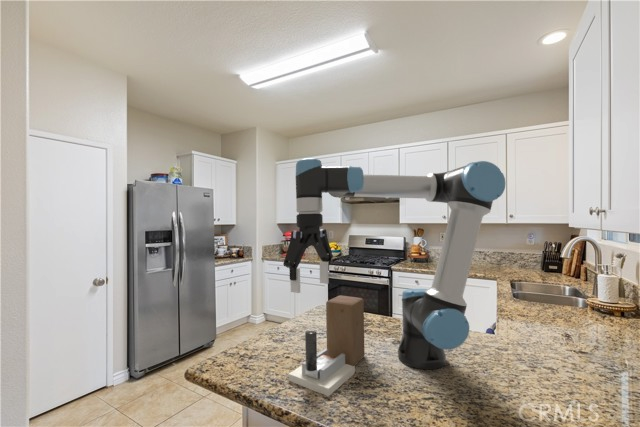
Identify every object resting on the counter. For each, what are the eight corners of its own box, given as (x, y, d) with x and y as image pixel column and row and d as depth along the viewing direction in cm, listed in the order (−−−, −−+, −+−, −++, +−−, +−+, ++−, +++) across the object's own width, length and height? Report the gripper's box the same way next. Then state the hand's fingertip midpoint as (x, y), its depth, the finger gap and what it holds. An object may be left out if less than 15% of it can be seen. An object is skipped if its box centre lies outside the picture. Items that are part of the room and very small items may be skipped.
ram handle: (334, 366, 90) (334, 325, 90) (314, 381, 81) (313, 336, 82) (323, 362, 92) (322, 322, 93) (301, 377, 84) (301, 332, 84)
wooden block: (353, 369, 93) (351, 304, 93) (325, 361, 98) (324, 300, 99) (365, 356, 101) (364, 297, 102) (340, 350, 106) (339, 294, 107)
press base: (354, 373, 90) (354, 356, 90) (328, 396, 78) (328, 377, 78) (317, 361, 98) (317, 346, 98) (288, 380, 86) (288, 363, 86)
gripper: (323, 214, 98) (324, 278, 97) (269, 213, 77) (270, 294, 77) (342, 213, 93) (344, 281, 93) (290, 212, 73) (292, 298, 72)
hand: (310, 287), depth 85 cm, fingers open, 13 cm apart
